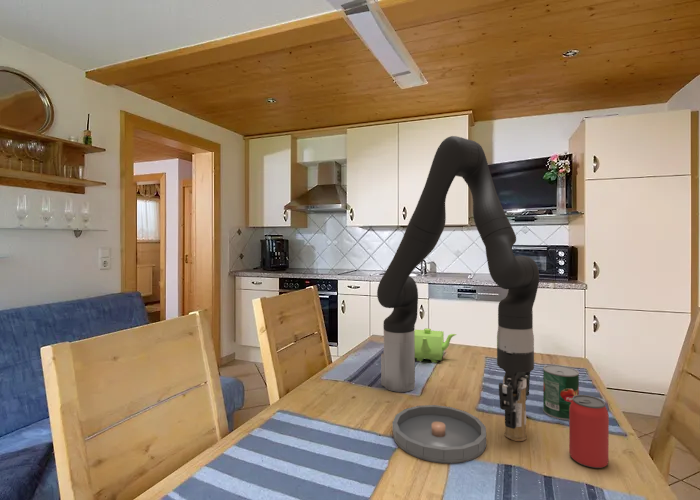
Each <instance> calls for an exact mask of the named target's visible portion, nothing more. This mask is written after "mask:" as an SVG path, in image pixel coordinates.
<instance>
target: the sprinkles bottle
mask: <svg viewBox="0 0 700 500" xmlns="http://www.w3.org/2000/svg"><path fill="white" fill-rule="evenodd" d="M520 379H522V380H523V387H522V388H521V397H520V401H518V402H517V410H516V428H515V429H513V428H509V427H506V426H504V429H505V430H504V436H505V437H506V438H507V439H509V440H511V441H516V442H523V441H526V439H527V427H526V426H527V406H526V405H527V404H526V401H527V400H526V392H525V391H526V390H525V389H526V379H525V378H523V377H522V378H520ZM517 387H518V385H517ZM516 395H517V394H513V396H516ZM508 404H509V402H508Z"/></svg>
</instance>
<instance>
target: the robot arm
mask: <svg viewBox="0 0 700 500" xmlns="http://www.w3.org/2000/svg"><path fill="white" fill-rule="evenodd" d="M456 177H461V178H462V180H463V181H464V182H465V183H466V185H467V187H468V188H469V190H470V192H471V196H472V197H471V198H472V214H473V216H472V217H473V220H474V224H475V228H476V230H477V231H478V233H479V236H480V238H481V241H482V243H483V246H484V248H485V254H486V255H485V256H486V261H487V267H488V271H489V275H490V277H491V279H492V280H493V282H494V283H495V285H497V286H498V287H500V288H501V289H503V290H508V291H507V295H506V296H505V297H504V298H503V299H501V300H500V301H499V303H498V307H497V309H498V310H497V333H496V365H497V366H498V368H499V369H501V370H503V371H504V376H503V379H502V382H499V383H498V395H499V408H500V410H502V411H503V410H504V425H505V426H506V427H509V428H513V429H515V428H516V410H517V402H518V401H520V397H521V388H522V387H523V380H522V379H520V378H522V377H523V378H525V379H526V389H525V390H526V391H525V392H526V401H527V399H528V397H527V396H529V395H530V383H531V382H530V381H531V379H530V378H531V372H532V371H534V369H535V337H534V336H535V335H534V331H533V330H534V329H533V328H534V323H533V321H534V320H533V317H534V316H533V307H534V304H535V301H536V297H537V293H538V289H539V283H540V272H539V267H538V264H537V263H536V261H535V260H534V259H533V258H531V257H529V256H525V255H518V256H517V255H516V256H515V254H514V252H513V246H514V245H515V244H516V242H517V235H516V233H515V230H514V228H513V226H512V224H511V222H510V221H509V217H508V215H506V212H505V210H504V208H503V206H502V203H501V200H500V198H499V196H498V193H497V190H496V188H495V187H496V186H495V184H494V181H493V177H492V173H491V171H490V168H489V164H488V159H487V156H486V154H485V151H484V149H483V146H482V145H481V144H480V143H479V142H477V141H475V140H472V139H468V138H466V137H465V138H464V137H460V136H457V135H450V136H448V137H446V138H445V139H443V140H442V141H441V143H440V145H439V146H438V147H437V149H436V151H435V154H434V157H433V159H432V162H431V166H430V169H429V172H428V175H427V178H426V181H425V184H424V186H423V189H422V192H421V194H420V196H419V198H418V202H417V204H416V207H415V209H414V211H413V213H412V215H411V218H410V219H409V221H408V223H407V226H406V229H405V231H404V234H403V237H402V239H401V240H400V243H399V245H398V247H397V249H396V252H395V253H394V255H393V258H392V260H391V262H390V263H389V265H388V266H387V269H386V270H385V272H384V274H383V275H382V277H381V279H380V281H379V283H378V286H377V292H376V293H377V294H376V297H377V301H378V302H379V304H380V305H381V307H383V308H387V309H392V312H391V313H390V314H389V315H388V316H387V317H386V318H384V320H383V324H382V325H383V326H382V327H383V352H382V353H381V354H380V362H381V364H380V366H381V367H380V368H381V369H380V376H381V377H380V378H381V379H380V380H381V381H380V382H381V386H383V387H384V388H385V390H388V391H390V392H397V393H398V392H399V393H404V392H405V393H406V392H410V391H413V390H414V389H415V388H416V358H415V330H416V329H415V326H416V325H415V324H416V323H417V320H418V307H419V291H418V286H417V283H416V280H415V279H414V278H413V277H411V276H410V275H411V274H412V273H413V271H414V269H416V268H417V267H418V266H419V264H421V263H422V262H423V261H424V260H425V259H426V258H427V257H428V256H429V255H430V254H431V253H432V252H433V250H434V249H435V247H436V246H437V244H438V242H439V239H440V238H441V235H442V234H443V232H444V229H445V225H446V222H447V221H446V220H447V219H446V218H447V216H446V215H447V214H446V212H447V211H446V199H447V195H448V194H449V193H448V192H449V190H450V187H451V186H452V183H453V181H454V180H455V178H456ZM517 385H518V387H517ZM513 394H517V395H516V396H513ZM508 402H509V404H508ZM505 426H504V427H505Z"/></svg>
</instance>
